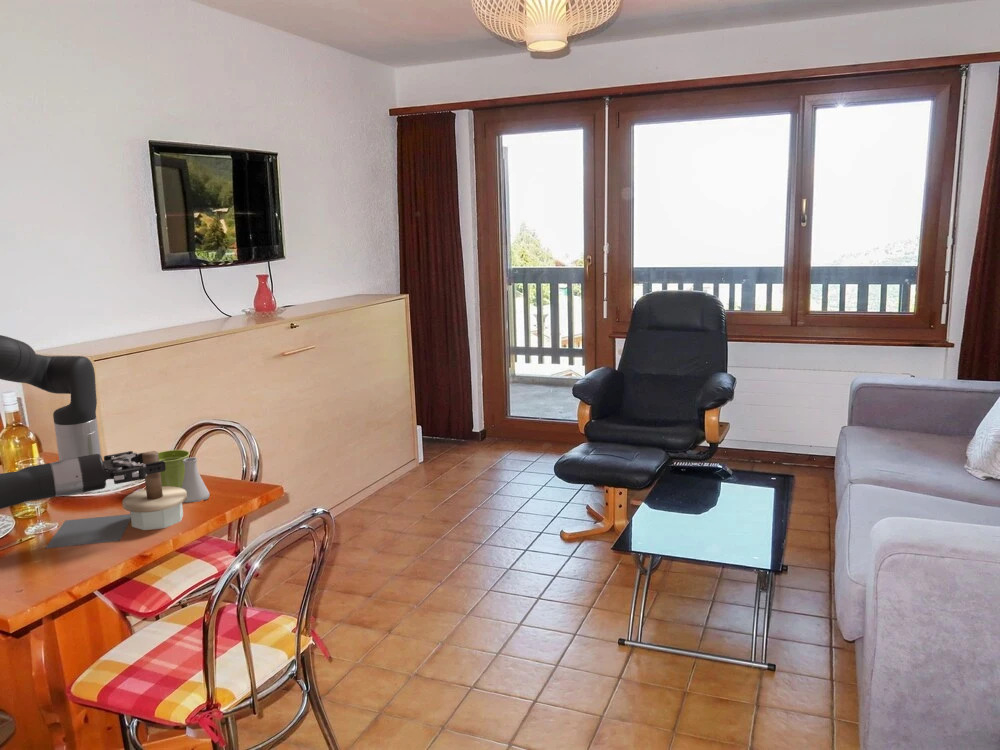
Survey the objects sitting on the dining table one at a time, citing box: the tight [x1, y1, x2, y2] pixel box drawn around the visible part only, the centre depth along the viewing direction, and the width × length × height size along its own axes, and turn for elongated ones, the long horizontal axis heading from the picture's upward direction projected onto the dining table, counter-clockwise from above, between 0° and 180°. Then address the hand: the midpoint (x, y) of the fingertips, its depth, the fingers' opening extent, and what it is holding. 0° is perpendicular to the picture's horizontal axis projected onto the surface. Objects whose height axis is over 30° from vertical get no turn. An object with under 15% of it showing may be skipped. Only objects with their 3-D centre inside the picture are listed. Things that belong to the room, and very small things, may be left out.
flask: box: [181, 456, 211, 503], centre depth 186 cm, size 7×7×10 cm
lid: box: [122, 450, 187, 512], centre depth 171 cm, size 13×13×11 cm
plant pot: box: [158, 449, 191, 488], centre depth 193 cm, size 9×9×9 cm
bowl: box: [129, 503, 184, 531], centre depth 173 cm, size 10×10×5 cm
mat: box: [45, 513, 131, 549], centre depth 168 cm, size 15×14×1 cm
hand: (160, 460), depth 171 cm, fingers open, 8 cm apart
